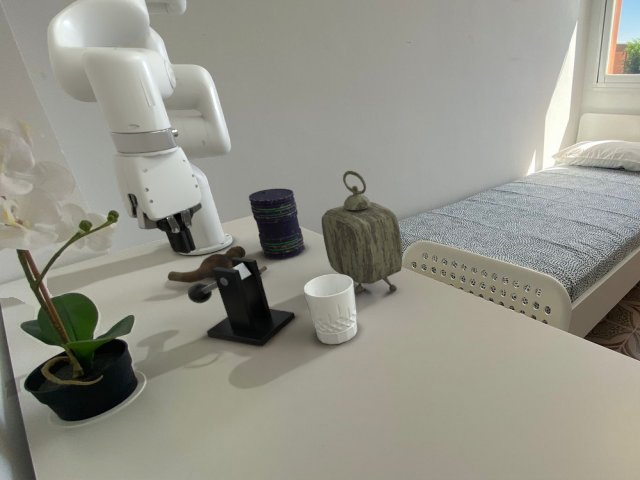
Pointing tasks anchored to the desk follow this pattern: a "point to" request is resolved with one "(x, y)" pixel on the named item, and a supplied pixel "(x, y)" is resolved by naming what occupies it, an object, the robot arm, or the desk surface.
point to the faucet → (210, 266)
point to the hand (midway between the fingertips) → (185, 250)
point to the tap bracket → (246, 307)
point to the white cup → (332, 307)
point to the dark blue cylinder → (277, 223)
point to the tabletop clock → (362, 239)
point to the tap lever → (211, 287)
